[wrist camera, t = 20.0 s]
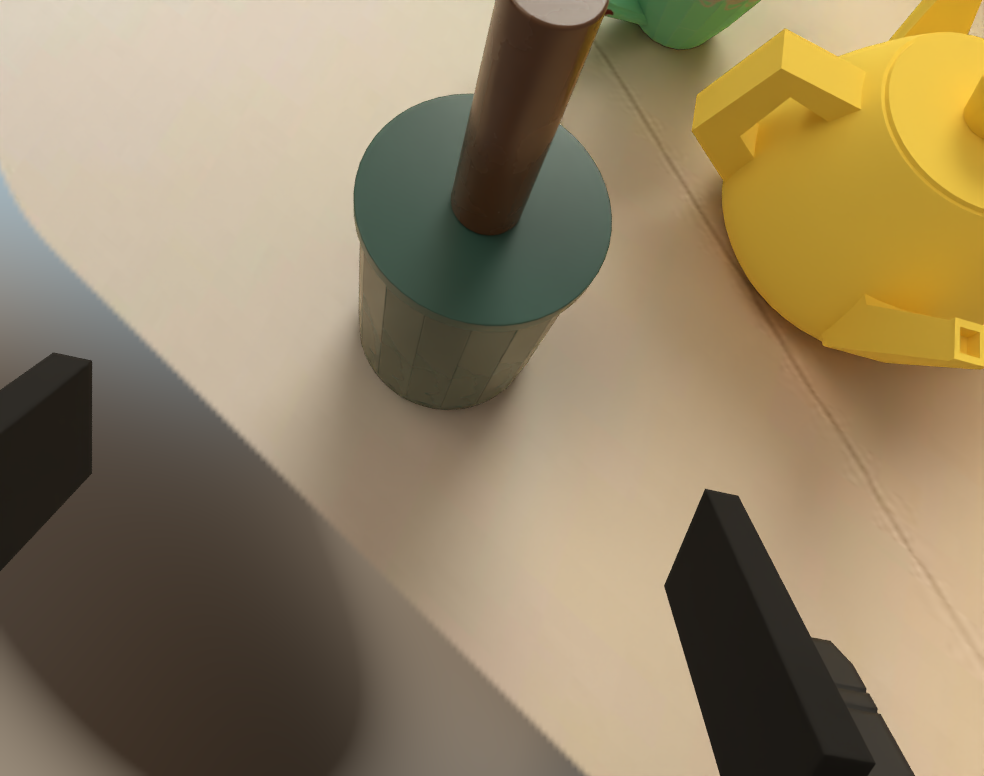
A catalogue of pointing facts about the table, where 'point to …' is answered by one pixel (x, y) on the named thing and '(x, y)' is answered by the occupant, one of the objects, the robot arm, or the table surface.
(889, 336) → the teapot
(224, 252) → the table surface
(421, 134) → the ring toss peg stand
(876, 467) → the table surface
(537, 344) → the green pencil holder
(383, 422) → the table surface
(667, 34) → the mug
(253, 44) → the table surface
